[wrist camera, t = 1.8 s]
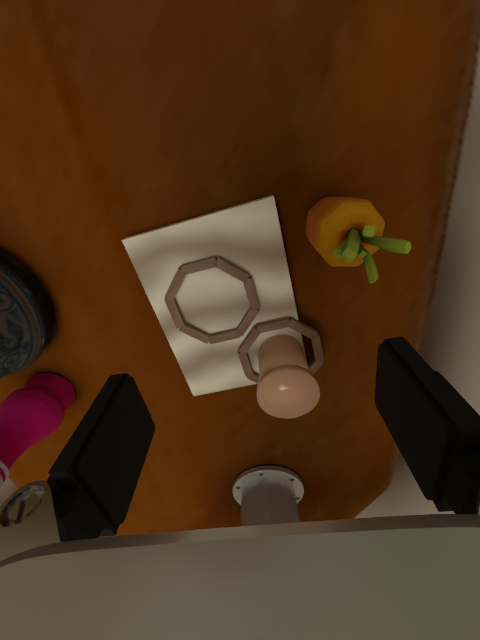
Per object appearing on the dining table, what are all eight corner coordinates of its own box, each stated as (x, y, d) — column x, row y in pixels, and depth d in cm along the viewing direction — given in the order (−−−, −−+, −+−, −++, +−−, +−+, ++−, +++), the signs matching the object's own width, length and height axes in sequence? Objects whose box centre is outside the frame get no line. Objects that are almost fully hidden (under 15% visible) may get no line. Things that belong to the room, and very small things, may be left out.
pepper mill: (17, 383, 41) (-159, 548, 23) (48, 361, 39) (-117, 522, 21) (58, 414, 43) (-71, 582, 26) (89, 394, 41) (-27, 562, 24)
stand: (322, 369, 38) (327, 380, 36) (197, 393, 41) (195, 405, 39) (292, 189, 28) (296, 190, 26) (127, 237, 30) (118, 242, 28)
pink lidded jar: (309, 368, 36) (323, 412, 30) (261, 378, 37) (264, 423, 31) (301, 326, 34) (315, 365, 27) (249, 338, 34) (250, 378, 28)
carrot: (351, 200, 28) (443, 227, 15) (325, 246, 31) (386, 305, 17) (307, 179, 28) (363, 189, 14) (284, 228, 30) (315, 275, 17)
